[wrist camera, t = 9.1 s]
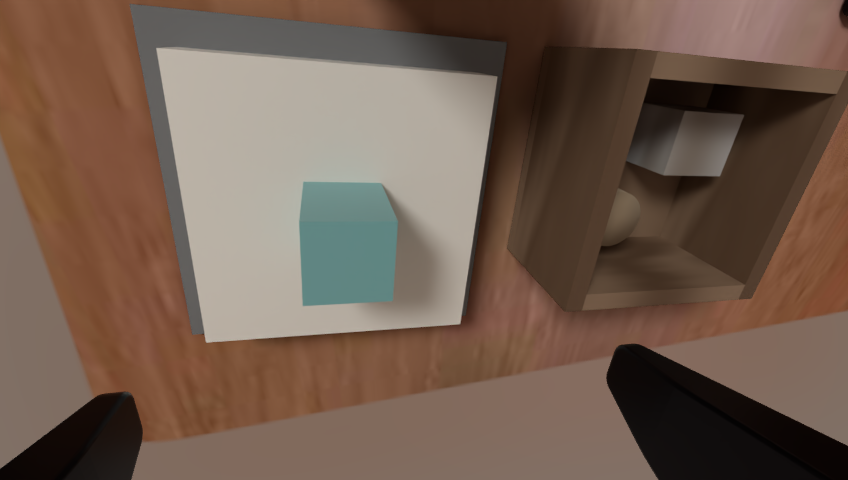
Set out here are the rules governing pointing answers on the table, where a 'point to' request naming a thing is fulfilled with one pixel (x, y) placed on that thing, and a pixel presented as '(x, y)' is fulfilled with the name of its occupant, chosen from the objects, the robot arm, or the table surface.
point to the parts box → (665, 173)
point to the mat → (293, 41)
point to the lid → (325, 189)
